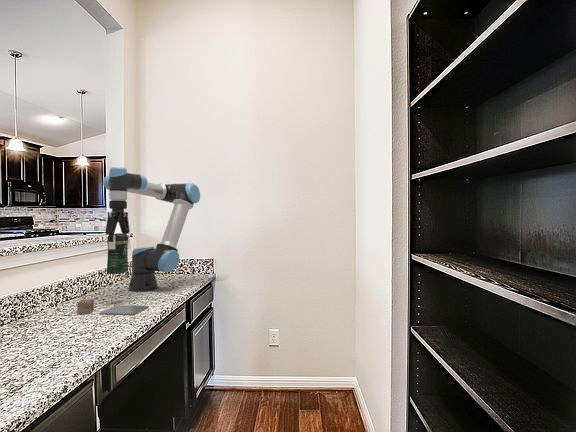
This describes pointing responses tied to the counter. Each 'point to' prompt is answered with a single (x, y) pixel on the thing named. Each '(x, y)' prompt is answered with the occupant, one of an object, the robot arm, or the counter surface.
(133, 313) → the plate
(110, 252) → the coffee jar
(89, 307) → the walnut block
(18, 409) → the counter surface
